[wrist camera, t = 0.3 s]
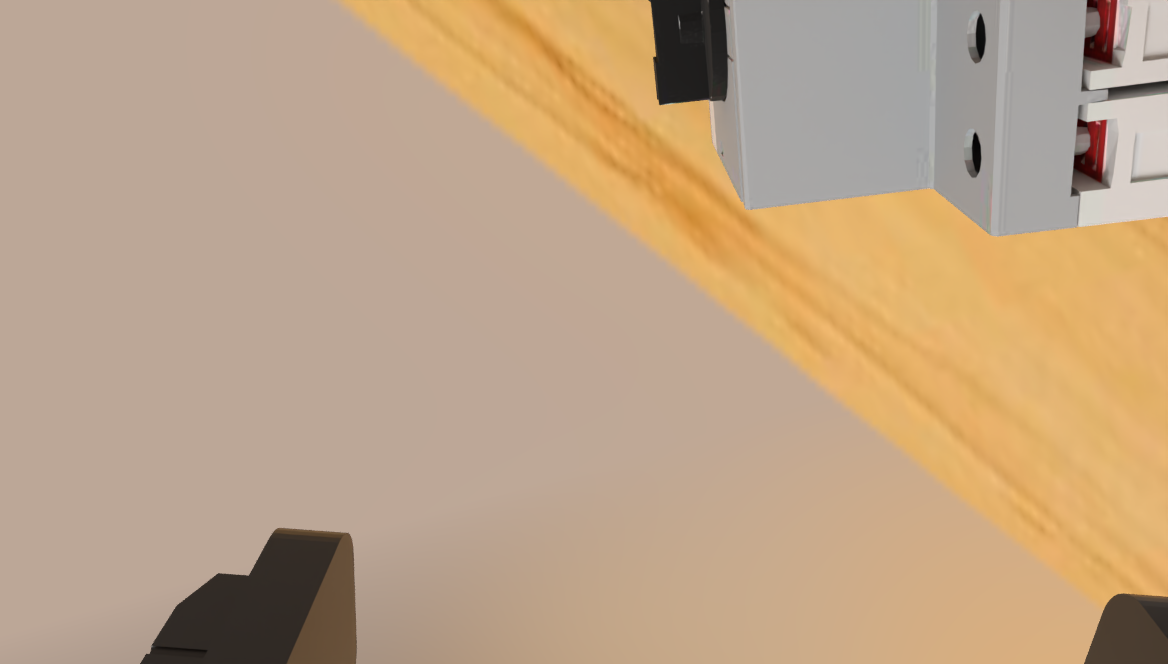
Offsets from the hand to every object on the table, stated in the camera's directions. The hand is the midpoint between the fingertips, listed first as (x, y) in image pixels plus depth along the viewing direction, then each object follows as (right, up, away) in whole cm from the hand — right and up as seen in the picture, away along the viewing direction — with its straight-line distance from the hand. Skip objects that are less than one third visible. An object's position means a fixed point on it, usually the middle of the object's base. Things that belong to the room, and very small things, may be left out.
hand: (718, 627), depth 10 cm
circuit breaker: (+8, +15, +21) cm, 27 cm away
